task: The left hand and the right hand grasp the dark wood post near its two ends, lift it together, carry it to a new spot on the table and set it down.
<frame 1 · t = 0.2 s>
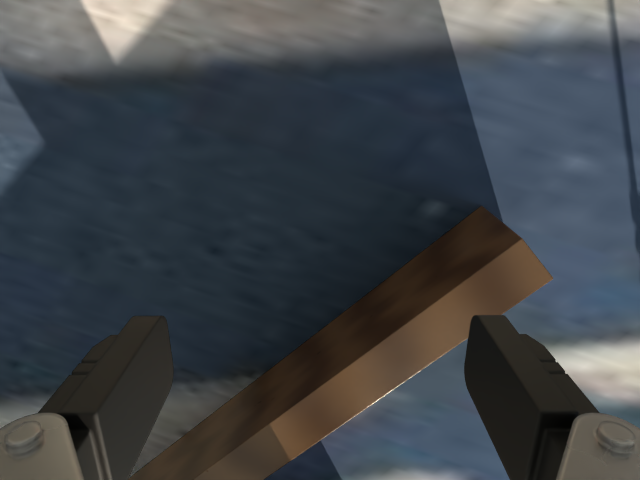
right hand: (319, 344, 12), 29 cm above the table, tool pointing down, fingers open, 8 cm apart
post: (219, 430, 50), on the table
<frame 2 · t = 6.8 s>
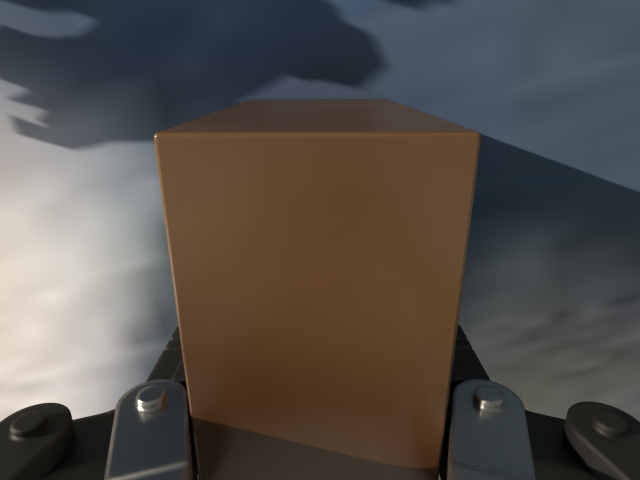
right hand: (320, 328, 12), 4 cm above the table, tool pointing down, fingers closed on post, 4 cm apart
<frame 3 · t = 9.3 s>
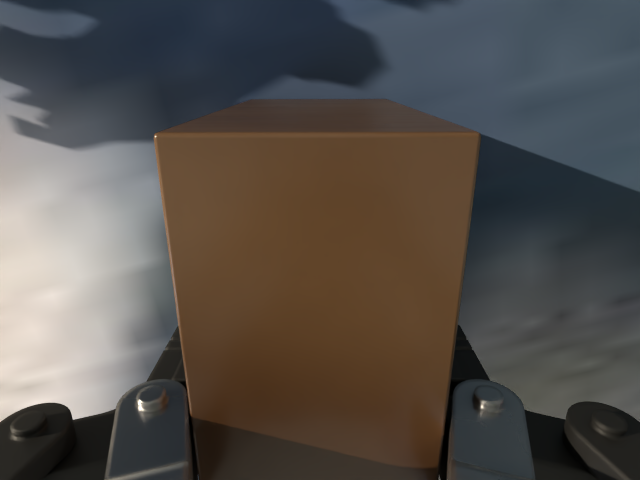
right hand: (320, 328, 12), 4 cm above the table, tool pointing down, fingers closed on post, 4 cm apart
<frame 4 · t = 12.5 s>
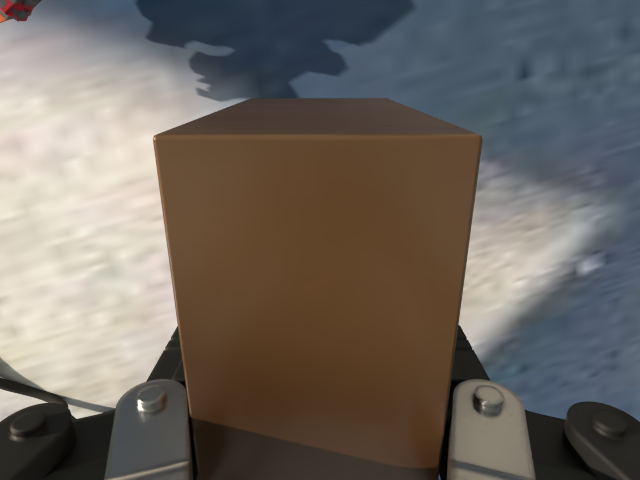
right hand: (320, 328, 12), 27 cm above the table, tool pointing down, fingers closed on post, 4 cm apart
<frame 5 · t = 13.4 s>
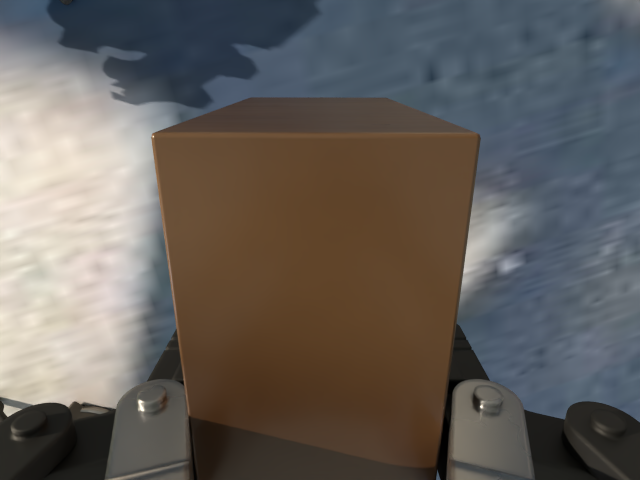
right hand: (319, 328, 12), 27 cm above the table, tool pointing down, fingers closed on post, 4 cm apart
when the left hand's fingers open (2 cm above the table, at t = 18.0 s): post stays where it is, on the table.
when the right hand's fingers open (5 cm above the table, at t = 18.2 s): post stays where it is, on the table.
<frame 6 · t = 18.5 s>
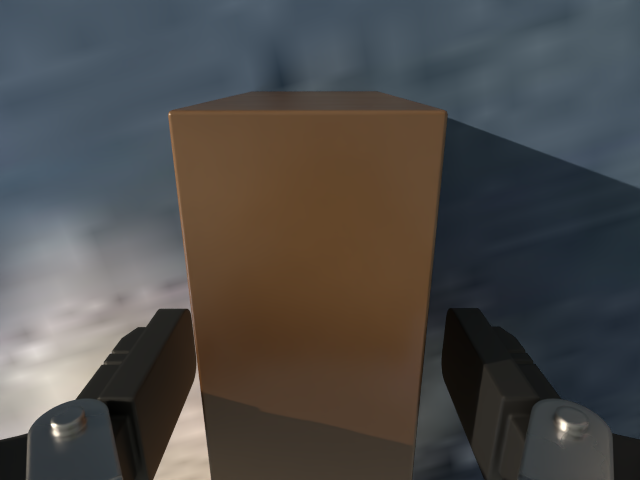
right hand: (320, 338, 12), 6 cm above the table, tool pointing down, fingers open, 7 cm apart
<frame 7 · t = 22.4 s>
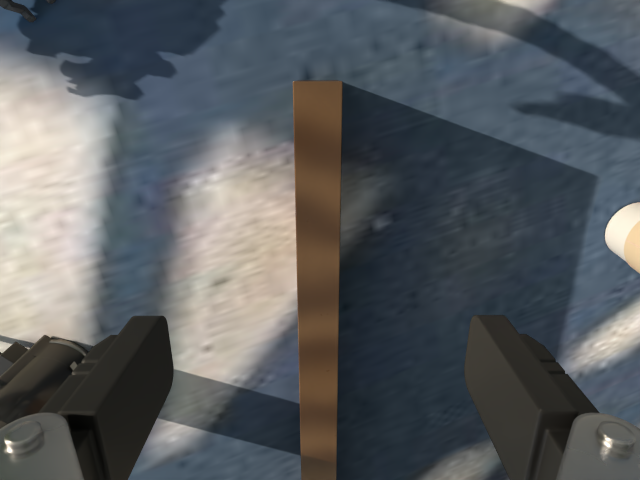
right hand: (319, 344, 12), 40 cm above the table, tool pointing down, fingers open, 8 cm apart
post: (318, 369, 60), on the table
coffee cup: (632, 229, 53), on the table
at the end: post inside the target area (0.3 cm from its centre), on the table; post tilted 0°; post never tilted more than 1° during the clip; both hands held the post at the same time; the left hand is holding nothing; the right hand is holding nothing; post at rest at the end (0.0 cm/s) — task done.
